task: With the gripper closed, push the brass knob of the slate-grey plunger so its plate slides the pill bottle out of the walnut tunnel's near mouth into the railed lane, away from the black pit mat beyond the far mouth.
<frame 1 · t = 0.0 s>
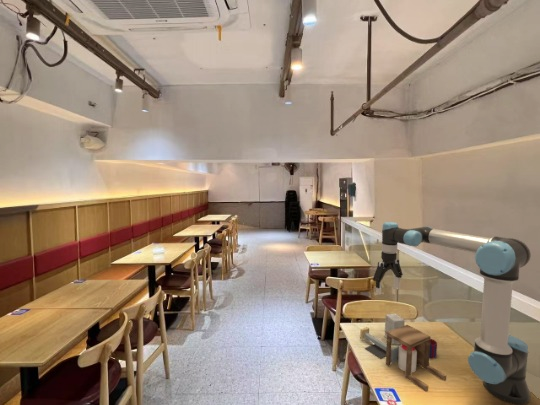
hand: (387, 291, 157), 28 cm above the table, fingers open, 13 cm apart
pit mat: (380, 350, 151), on the table
small box: (393, 340, 161), on the table
pill bottle: (406, 367, 138), on the table
mug: (425, 354, 149), on the table
plunger: (379, 342, 152), point 4 cm above the table, slide at 0.0 cm
tunnel: (406, 366, 138), on the table
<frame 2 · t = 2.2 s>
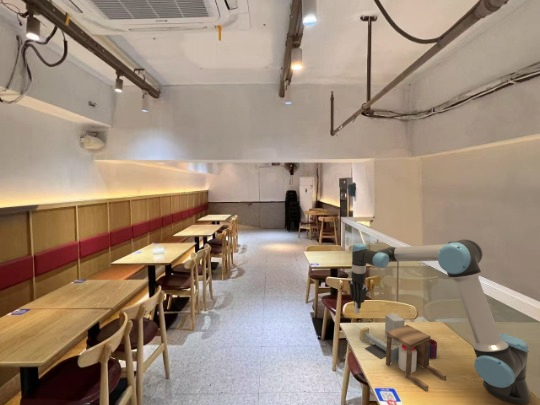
hand: (357, 313, 165), 13 cm above the table, fingers closed
nothing on the table moved.
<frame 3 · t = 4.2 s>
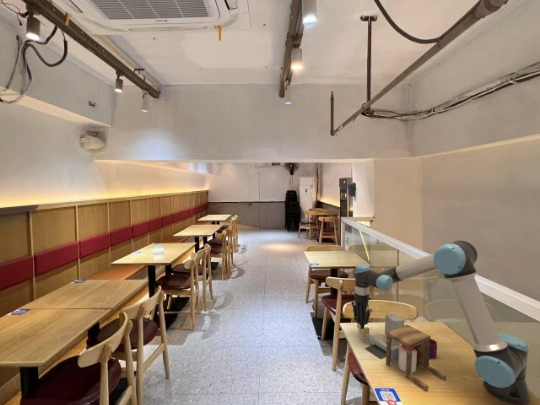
hand: (360, 334, 163), 2 cm above the table, fingers closed
plunger: (379, 342, 152), point 4 cm above the table, slide at 0.1 cm, touching gripper
everything else where it was.
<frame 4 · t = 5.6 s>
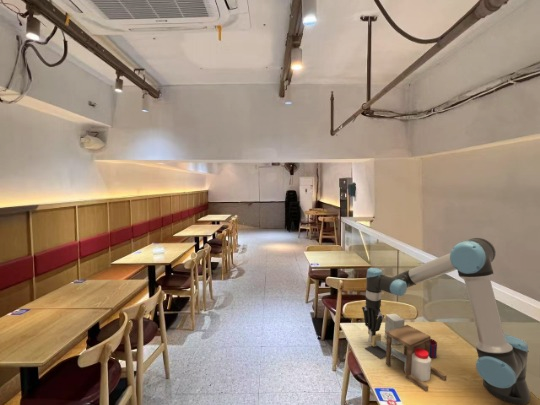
hand: (371, 341, 156), 2 cm above the table, fingers closed
pill bottle: (420, 375, 133), on the table
plunger: (392, 350, 145), point 4 cm above the table, slide at 7.8 cm, touching gripper
everything else where it was.
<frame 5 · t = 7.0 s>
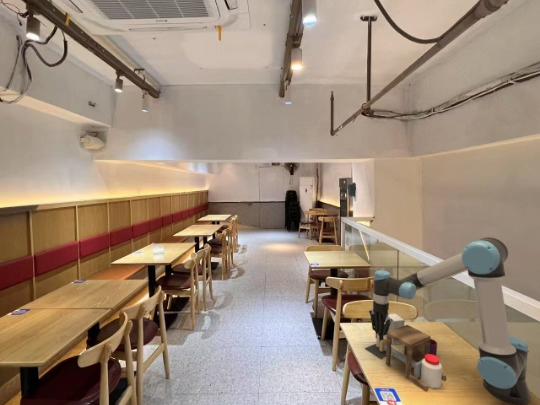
hand: (379, 345, 152), 2 cm above the table, fingers closed
pill bottle: (430, 382, 128), on the table
plunger: (401, 355, 141), point 4 cm above the table, slide at 12.7 cm, touching gripper
everything else where it was.
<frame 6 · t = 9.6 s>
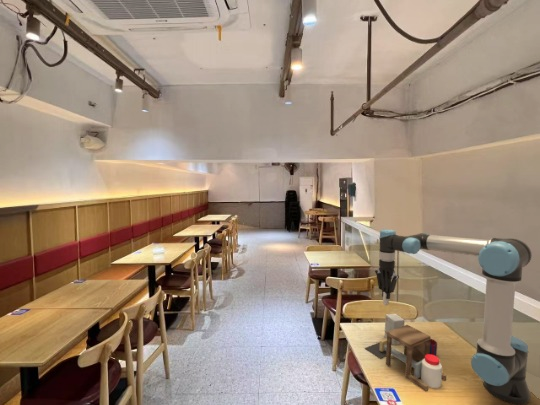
hand: (385, 304, 154), 22 cm above the table, fingers closed
plunger: (401, 356, 141), point 4 cm above the table, slide at 12.7 cm
everything else where it was.
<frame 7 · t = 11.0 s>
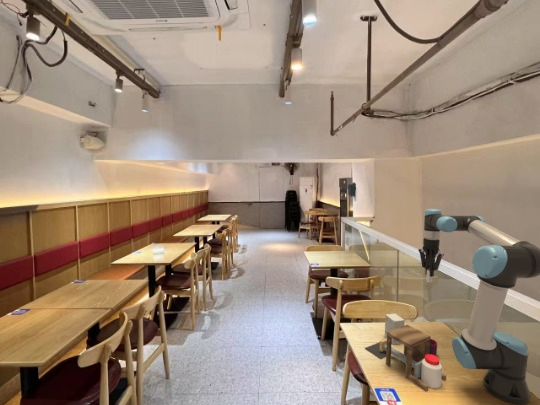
hand: (429, 281, 159), 32 cm above the table, fingers closed
nothing on the table moved.
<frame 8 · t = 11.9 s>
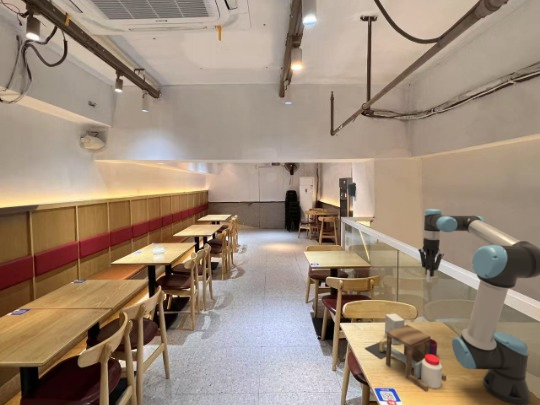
hand: (429, 281, 159), 32 cm above the table, fingers closed
nothing on the table moved.
at the end: pill bottle inside the target area (1.4 cm from its centre), on the table; pill bottle tilted 0°; plunger slide at 12.7 cm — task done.
